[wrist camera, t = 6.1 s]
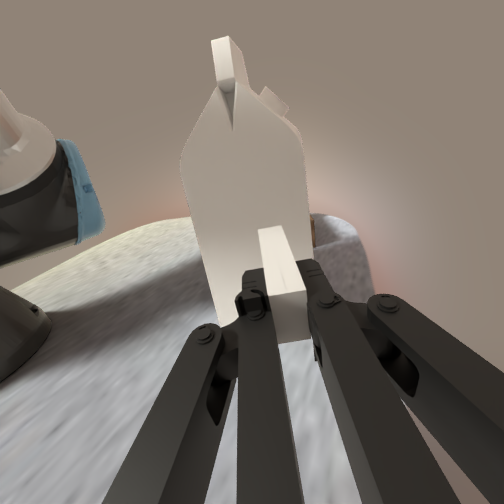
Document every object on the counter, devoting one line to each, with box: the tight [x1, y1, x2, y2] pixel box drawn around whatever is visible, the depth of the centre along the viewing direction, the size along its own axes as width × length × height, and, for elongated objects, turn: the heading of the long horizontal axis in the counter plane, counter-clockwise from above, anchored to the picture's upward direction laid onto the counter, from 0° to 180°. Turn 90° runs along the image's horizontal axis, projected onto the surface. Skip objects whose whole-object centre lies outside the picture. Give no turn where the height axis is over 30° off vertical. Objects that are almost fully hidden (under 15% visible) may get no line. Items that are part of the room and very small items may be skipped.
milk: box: [179, 36, 314, 327], centre depth 26 cm, size 12×12×26 cm
